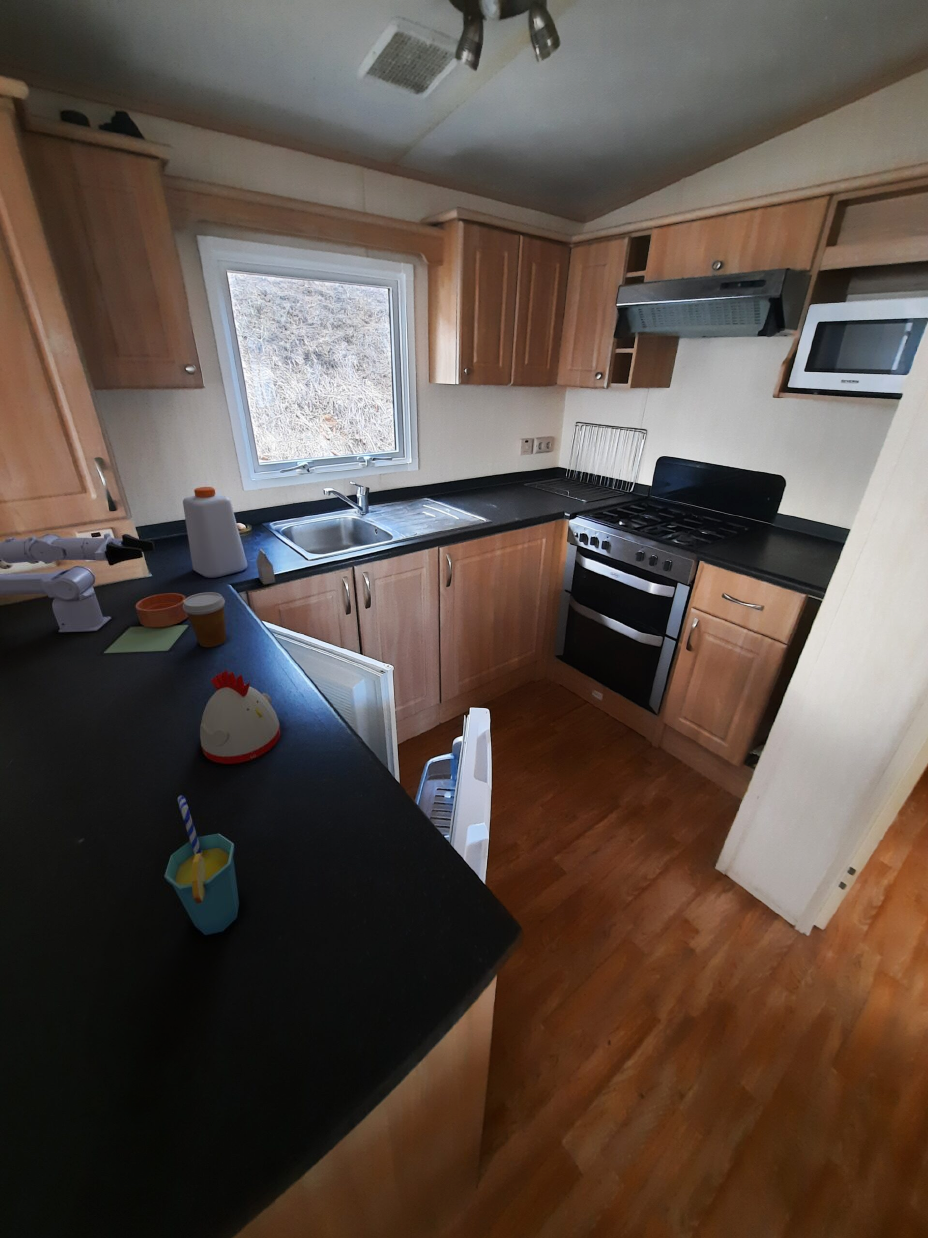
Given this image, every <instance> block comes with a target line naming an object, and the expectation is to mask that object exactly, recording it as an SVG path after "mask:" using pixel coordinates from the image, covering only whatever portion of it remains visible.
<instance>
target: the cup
mask: <svg viewBox="0 0 928 1238" xmlns="http://www.w3.org/2000/svg"><path fill="white" fill-rule="evenodd" d="M177 803H178V808H179V811H180V813H181V816H182V819H183V822H184V827H185V829H186V832H187V835H188V839H189V840H188V842H186V843H185V844H184V845H182V846H181V847H179V849H177V850H176V851H174V852H173V853H172V854H171V855H170V857H169V861H168V864H167V867H166V869H165V873H164V876H163V877H164V879H165V880H166V881H167V882H168V883H169V884H170V885H171V886H172V887H173V888H174V889H173V890H174V891H175V892H176V894H177V896H178V898H179V899H180V901H181V903H182V905H183V907H184V908H185V910H186V912H187V914H188V917H189V918H190V919H191V922H192V923H193V925H194V927H195V929H197V930H199V931H200V932H201V933H202V934H203V935H205V936H208V935H212V934H218V933H221V932H222V933H223V932H224V931H225V930H226V929H227V928H228V927H229V926H230V925H231V924H232V923H234V921H235V920H236V919H237V918H238V914H239V913H238V912H239V906H240V900H239V891H238V885H237V877H236V869H235V862H234V854H235V844H234V842H232V841H231V840H229V839H228V838H226V837H225V836H223V835H222V834H220V833H214V834H208V835H204V836H198V835H197V831H196V828H195V825H194V822H193V819H192V816H191V815H192V814H191V813H190V808H189V806H188V803H187V800H186V797H185V796H184V795H179V796H178V797H177Z"/></svg>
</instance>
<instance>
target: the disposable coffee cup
mask: <svg viewBox="0 0 928 1238" xmlns="http://www.w3.org/2000/svg"><path fill="white" fill-rule="evenodd" d="M225 604H226V599H225V598H224V597H223V596H222V594H221V593H218V592H213V591H211V592H209V591H206V592H200V593H199V592H198V593H195V594H192V595H189V596H188V597H186V599H185V600H184V605H183V609H184V610H185V612H186V613H187V615H188V617H187V618H188V619H189V623H190V624H191V627H192V630H193V632H194V634H195V636H196V639H197V641H198V644H199V646H201V647H203V648H213V647H218V646H220V645H222V644H225V642H226V641H227V631H226V616H225Z"/></svg>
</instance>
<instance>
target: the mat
mask: <svg viewBox="0 0 928 1238" xmlns="http://www.w3.org/2000/svg"><path fill="white" fill-rule="evenodd" d="M188 627H189V624H178V625H177V624H175V625H171V626H167V627H159V628H155V627H147V626H130V627H129V628H128V629H126V630H125V631H124V633H123V634H122V635H120V636H119V637H118V638H117V639H116V640H115V641H114V642H113V643H112V644H111V645H110V646H109V647H108V648H107V649H106V650H104V652H103V654H118V653H119V654H120V653H121V654H123V653H144V652H168V651H169V650H170V649H171V648H172V647H173V646H174V645H175V643H176V641H178V639H180V637H181V636H182V634H184V632H185V631H186V630H187V629H188Z"/></svg>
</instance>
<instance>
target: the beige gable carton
mask: <svg viewBox="0 0 928 1238" xmlns="http://www.w3.org/2000/svg"><path fill="white" fill-rule="evenodd" d="M255 563H256V568H257V569H256V570H257V574H258V579H259V580H260V582H261V583H262V584H263V585H268V584H269V585H270V584H274V583H276V578H275V577H276V576H275V572H274V565H273V563H272V562H271V561H270V560H269V558H268V556H267V555H266V553H265V551H264V550H263V549H262V548H259V550H258V554H257V558H256V561H255Z"/></svg>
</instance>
